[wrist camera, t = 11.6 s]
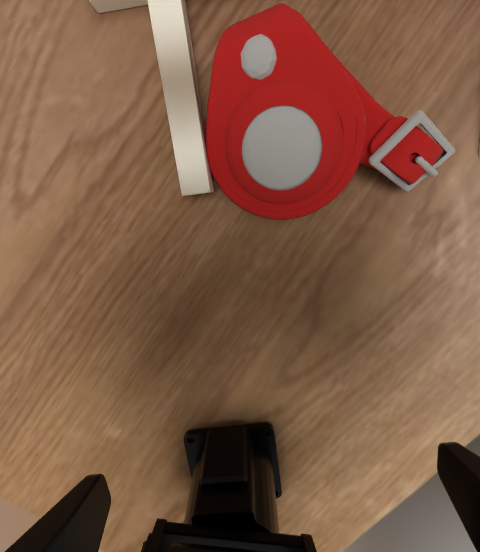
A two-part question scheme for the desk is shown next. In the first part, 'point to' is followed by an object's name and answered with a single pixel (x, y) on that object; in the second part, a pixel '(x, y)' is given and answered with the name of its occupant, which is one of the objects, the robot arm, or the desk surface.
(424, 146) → the tracker holder
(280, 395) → the desk surface
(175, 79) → the frame
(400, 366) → the desk surface
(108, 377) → the desk surface
